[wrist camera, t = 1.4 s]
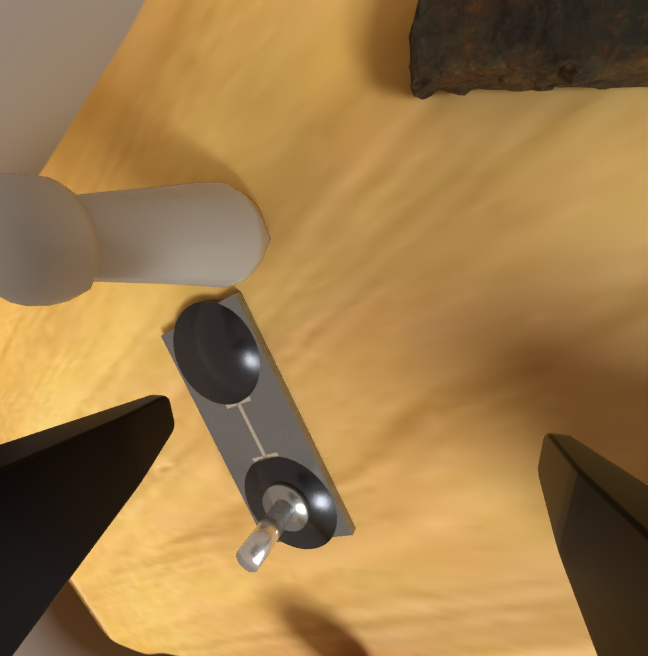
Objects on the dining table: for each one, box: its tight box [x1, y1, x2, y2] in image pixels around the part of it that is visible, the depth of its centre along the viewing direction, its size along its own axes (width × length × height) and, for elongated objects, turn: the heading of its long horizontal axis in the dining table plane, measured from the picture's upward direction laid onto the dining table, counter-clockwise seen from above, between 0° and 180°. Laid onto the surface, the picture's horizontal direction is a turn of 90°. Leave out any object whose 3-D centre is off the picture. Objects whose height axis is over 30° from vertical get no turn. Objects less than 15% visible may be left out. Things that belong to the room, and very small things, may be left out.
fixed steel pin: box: [236, 481, 311, 572], centre depth 23 cm, size 4×4×5 cm
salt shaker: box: [0, 173, 271, 306], centre depth 16 cm, size 6×6×13 cm
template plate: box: [161, 292, 355, 549], centre depth 25 cm, size 20×8×1 cm, turn 28°
